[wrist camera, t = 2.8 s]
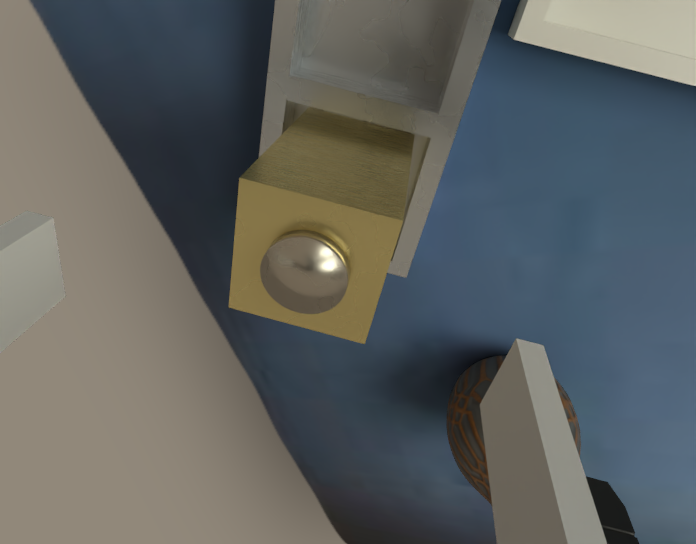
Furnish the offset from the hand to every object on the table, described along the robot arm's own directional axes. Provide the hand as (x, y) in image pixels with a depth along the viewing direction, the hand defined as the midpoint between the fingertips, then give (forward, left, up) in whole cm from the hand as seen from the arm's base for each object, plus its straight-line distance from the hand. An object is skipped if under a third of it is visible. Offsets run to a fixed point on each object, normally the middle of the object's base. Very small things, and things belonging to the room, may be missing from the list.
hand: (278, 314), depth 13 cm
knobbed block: (0, 0, -11) cm, 11 cm away
